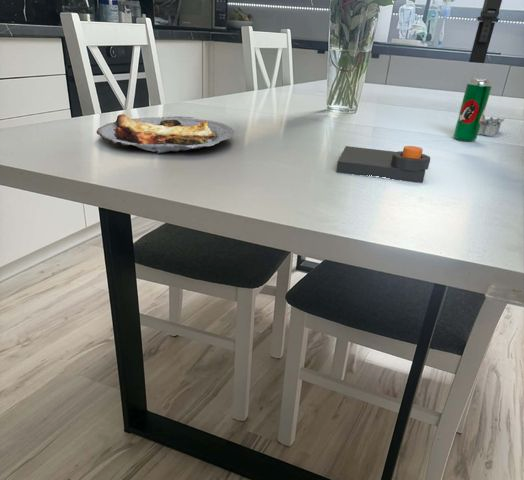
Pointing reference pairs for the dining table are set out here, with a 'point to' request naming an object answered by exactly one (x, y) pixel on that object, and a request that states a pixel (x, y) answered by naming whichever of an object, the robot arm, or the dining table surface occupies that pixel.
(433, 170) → the dining table surface
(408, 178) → the dark grey flat block
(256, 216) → the dining table surface
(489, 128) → the egg carton
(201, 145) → the food plate
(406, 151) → the tare button
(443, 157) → the dining table surface
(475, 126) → the soda can
